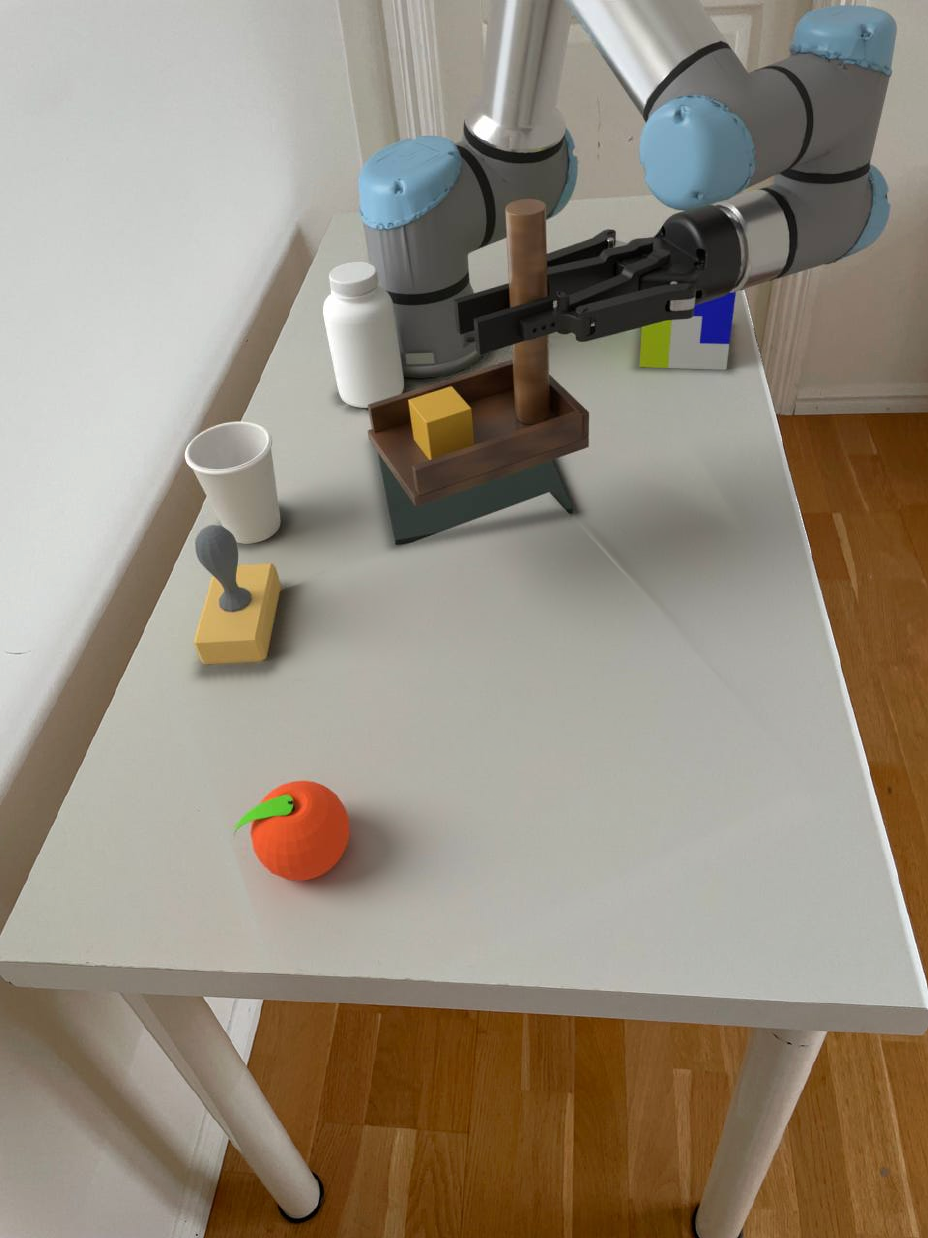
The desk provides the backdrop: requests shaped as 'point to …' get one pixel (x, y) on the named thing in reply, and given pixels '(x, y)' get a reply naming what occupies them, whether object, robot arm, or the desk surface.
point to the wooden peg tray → (493, 395)
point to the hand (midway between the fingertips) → (467, 326)
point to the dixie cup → (238, 478)
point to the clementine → (299, 830)
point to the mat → (467, 501)
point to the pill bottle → (362, 336)
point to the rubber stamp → (234, 602)
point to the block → (441, 422)
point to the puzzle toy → (691, 338)
